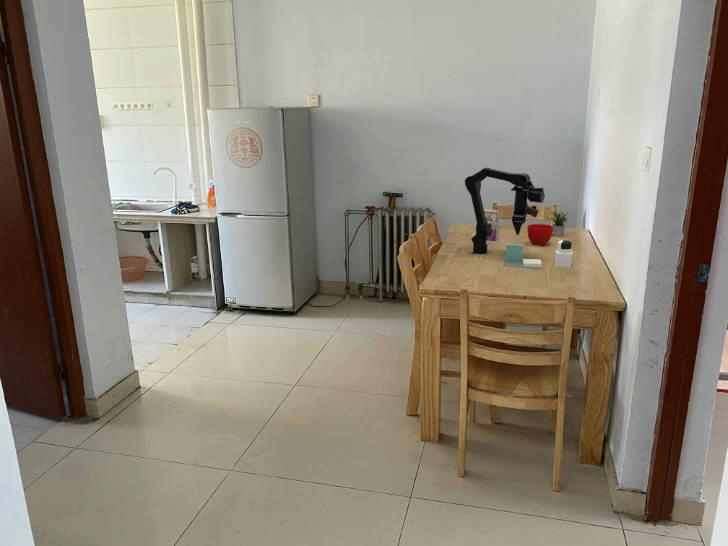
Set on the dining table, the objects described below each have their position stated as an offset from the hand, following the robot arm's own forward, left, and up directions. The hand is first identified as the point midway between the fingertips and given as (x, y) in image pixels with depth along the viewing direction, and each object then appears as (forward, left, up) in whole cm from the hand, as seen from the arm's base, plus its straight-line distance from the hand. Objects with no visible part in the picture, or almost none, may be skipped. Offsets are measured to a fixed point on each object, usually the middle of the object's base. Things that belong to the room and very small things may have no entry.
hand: (518, 232), depth 275 cm
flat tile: (+8, -14, -12) cm, 20 cm away
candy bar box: (-19, +39, -13) cm, 45 cm away
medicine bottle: (+21, -9, -13) cm, 26 cm away
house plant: (+17, +59, -13) cm, 63 cm away
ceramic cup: (+10, +35, -13) cm, 39 cm away
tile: (-1, -8, -12) cm, 14 cm away
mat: (+3, -11, -13) cm, 17 cm away
